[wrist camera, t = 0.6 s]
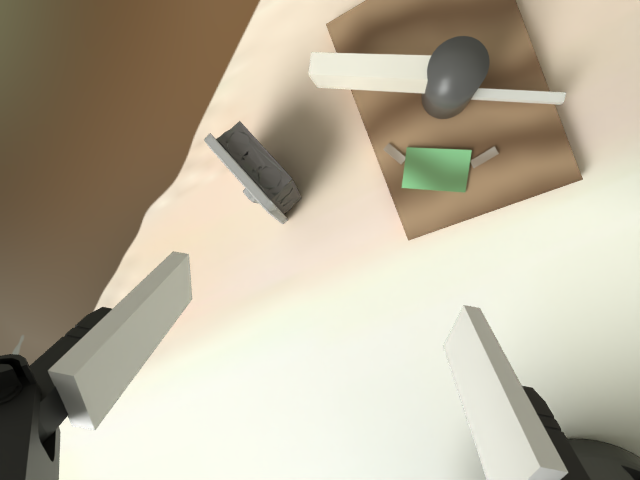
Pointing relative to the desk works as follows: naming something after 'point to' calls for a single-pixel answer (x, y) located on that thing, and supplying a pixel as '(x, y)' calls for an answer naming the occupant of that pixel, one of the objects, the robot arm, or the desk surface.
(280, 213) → the electrical switch
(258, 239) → the desk surface
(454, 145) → the board
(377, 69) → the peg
